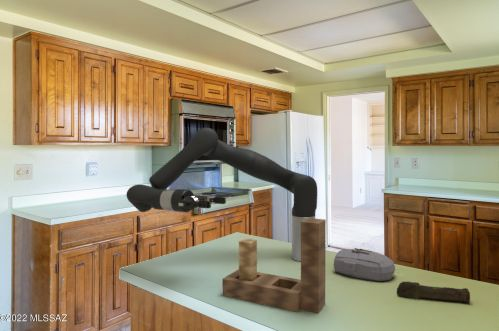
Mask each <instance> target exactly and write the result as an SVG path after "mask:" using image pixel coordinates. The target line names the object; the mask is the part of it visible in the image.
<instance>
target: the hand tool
mask: <svg viewBox="0 0 499 331" xmlns="http://www.w3.org/2000/svg"><path fill="white" fill-rule="evenodd" d="M396 295H397V296H398V297H402V298H407V299H412V300H413V299H414V300H419V299H423V298H424V299H433V300H444V301H451V302H463V303H466V304H468V305H470V302H471V292H470V290H469V289H468V288H467V287H465V288H464V287H463V288H454V287H446V286H445V287H442V286H428V285H423V284H420V283H419V282H414V281H413V282H412V281H401V282H399V285H398V286H397V288H396Z"/></svg>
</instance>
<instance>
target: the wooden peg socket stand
mask: <svg viewBox="0 0 499 331" xmlns="http://www.w3.org/2000/svg"><path fill="white" fill-rule="evenodd" d="M326 222H327V220H326V219H323V218H315V219H314V218H307V219H305V220H303V221H302V222H301V261H300V278H299V279H298V278H293V277H288V276H283V275H282V276H281V275H276V274H270V273H265V272H261V271H260V272H259V271H257V279H255V280H254V281H252V282H251V281H246V280H241V279H239V268H238V269H236V270H235V271H233V272H231V273H230V274H228V275H226V276H224V277H223V278H222V296H225V297H229V298H233V299H237V300H243V301H248V302H251V303H256V304H260V305H265V306H269V307H273V308H277V309H282V310H287V311H291V312H296V313H299V312H300V311H305V312H306V311H307V312H311V313H316V314H319V313H320V312H321V311H322V310H323V308H324V307H325V306H326V249H327V248H326V246H327V245H326V244H327V243H326V242H327V241H326V239H327V238H326V234H327V232H326V228H327V227H326Z"/></svg>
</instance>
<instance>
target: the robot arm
mask: <svg viewBox="0 0 499 331" xmlns="http://www.w3.org/2000/svg"><path fill="white" fill-rule="evenodd" d="M202 156H204V157H208V158H211V159H213V160H217V161H219V162H223V163H224V164H227V165H228V166H230V167H231V168H234V169H236V170H238V171H240V172H242V173H244V174H245V175H249V176H251V177H253V178H255V179H258V180H261V181H264V182H267V183H270V184H274V185H277V186H279V187H281V188H283V189H285V190H287V191H288V192H290V193H292V194H293V205H292V208H291V259H292V260H294V261H296V262H297V261H298V262H301V222H302V221H303V220H305V219H307V218H314V219H316V211H317V208H318V183H317V181H316V180H315V179H314V178H313V177H312V176H310V175H307V174H303V173H299V172H296V171H293V170H290V169H288V168H285V167H283V166H282V165H280V164H279V163H277V162H276V161H274V160H273V159H271V158H269V157H267V156H266V155H264V154H261V153H259V152H256V151H254V150H252V149H248V148H244V147H238V146H233V145H231V144H229V143H228V144H227V143H226V142H224V141H223V140H221V139H219V136H218V133H217V132H216V131H215V130H214V129H213V128H210V127H202V128H200V129H199V130H197V131H196V132H195V133H194V135H193V137H192V138H191V139H190V140H189V141H188V143H187V144H186V145H185V146H184V147H183V148H181V150H180V151H179V152H178V153H176V154H175V155H174V157H172V158H171V159H170V160H168V161H167V162H165V164H163V165H162V166H161V167H160V168H159V169H158V170H157V171H155V173H152V175H151V176H150V177H149V179H148V182H149V184H150V186H149V185H145V184H134V185H132V186H131V187H129V188H128V189H127V191H126V196H125V197H126V199H127V200H128V202H129V203H131V205H133V207H134V208H135V209H136V210H137V211H138V212H141V213H146V212H148V211H150V210H152V209H154V210H159V211H160V210H161V211H169V212H174V213H175V212H177V213H189V212H191V211H192V210H197V209H198V210H199V209H211V207H212V205H217V204H218V205H225V204H226V203H227V200H226V197H225V196H218V194H214V195H213V194H194V191H192V190H190V189H185V188H184V189H182V188H169V187H170V186H171V185H172V184H174V183H175V182H176V181H177V180H178V179H179V178H180V177H181V176H182V174H183V173H185V172H186V170H187V169H189V167H190V166H191V165H192V164H194V162H196V161H197V159H199V158H200V157H202Z"/></svg>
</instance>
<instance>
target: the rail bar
mask: <svg viewBox="0 0 499 331" xmlns="http://www.w3.org/2000/svg"><path fill="white" fill-rule="evenodd" d="M257 244H258V240H257V239H254V238H253V239H250V238H244V239H241V240H239V241H238V269H239V279H241V280H246V281H251V282H252V281H254V280H255V279H257V272H258V248H257V247H258V246H257Z"/></svg>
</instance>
